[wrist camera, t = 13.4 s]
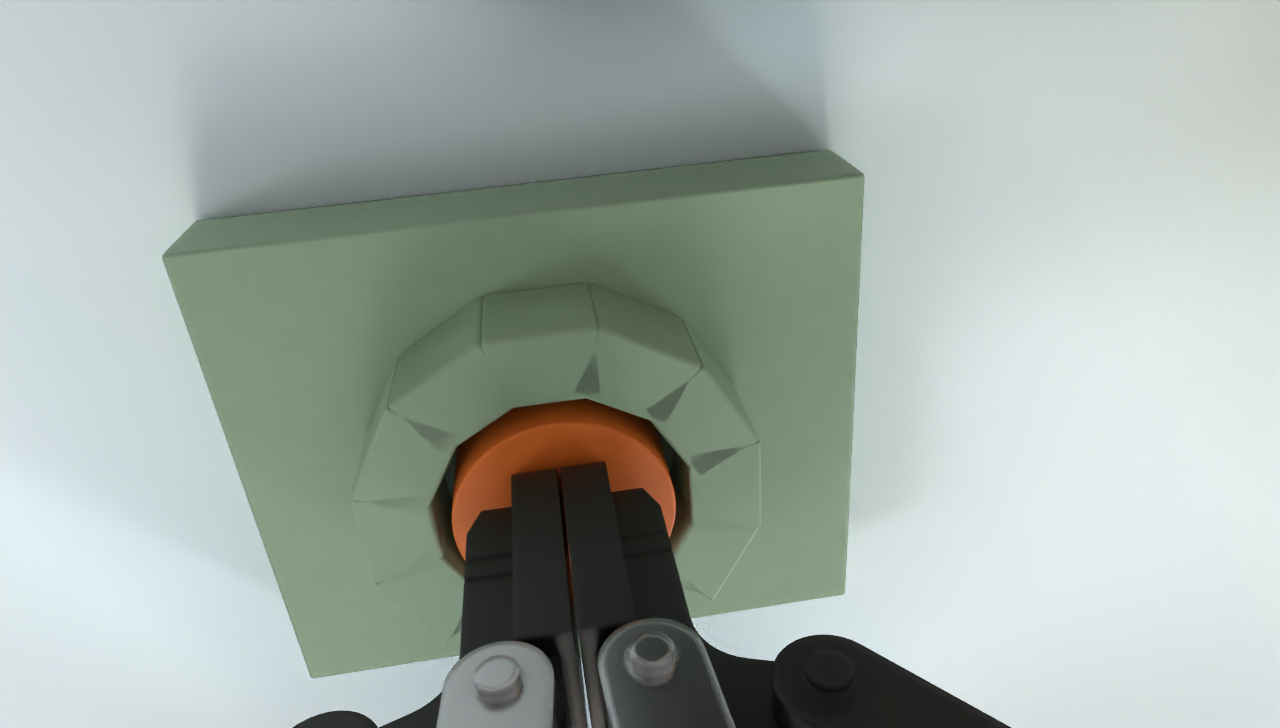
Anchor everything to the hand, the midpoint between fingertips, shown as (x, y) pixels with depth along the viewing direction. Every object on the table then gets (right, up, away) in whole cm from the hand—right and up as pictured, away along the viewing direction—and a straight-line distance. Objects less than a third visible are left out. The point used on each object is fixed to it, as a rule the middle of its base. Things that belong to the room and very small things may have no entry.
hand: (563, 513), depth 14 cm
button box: (0, +2, +3) cm, 4 cm away
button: (0, +1, +2) cm, 2 cm away
